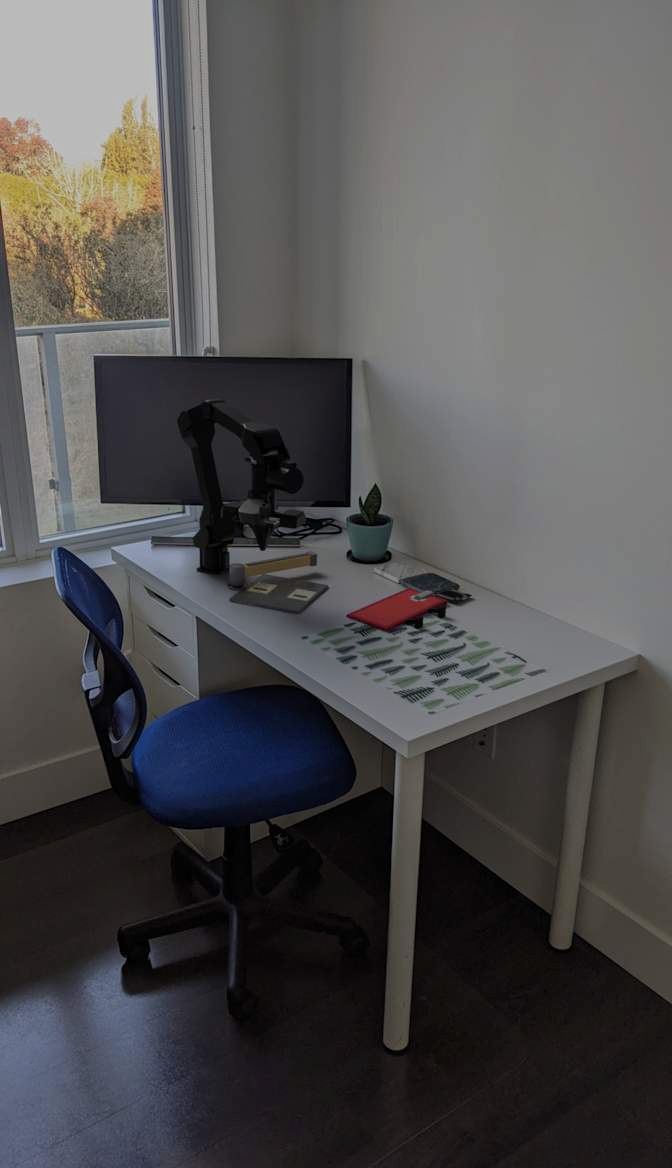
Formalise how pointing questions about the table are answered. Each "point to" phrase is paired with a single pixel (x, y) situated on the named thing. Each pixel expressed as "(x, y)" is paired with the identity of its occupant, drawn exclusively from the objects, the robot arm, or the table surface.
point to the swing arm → (270, 566)
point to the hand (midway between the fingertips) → (262, 550)
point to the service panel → (278, 593)
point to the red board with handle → (406, 608)
